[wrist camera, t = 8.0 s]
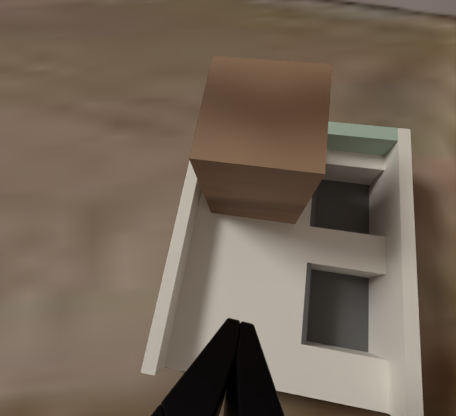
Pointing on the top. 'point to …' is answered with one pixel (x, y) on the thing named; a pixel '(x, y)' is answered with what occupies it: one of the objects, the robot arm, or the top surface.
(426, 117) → the top surface
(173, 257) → the box
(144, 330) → the top surface
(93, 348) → the top surface
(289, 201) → the walnut block
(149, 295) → the top surface
